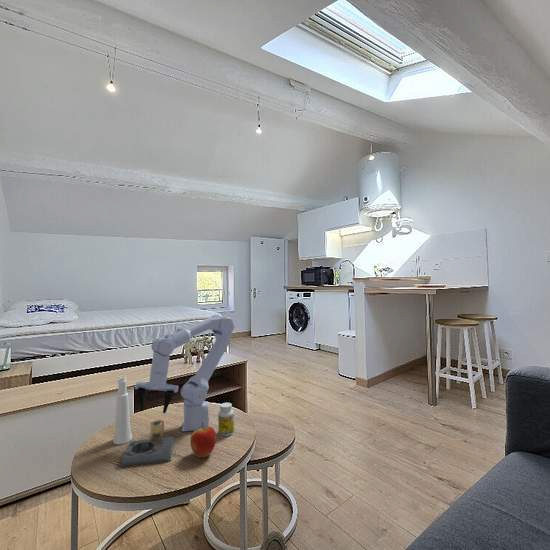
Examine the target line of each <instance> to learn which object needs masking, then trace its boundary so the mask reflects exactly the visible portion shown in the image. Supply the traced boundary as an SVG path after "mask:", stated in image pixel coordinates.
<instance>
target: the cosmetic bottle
mask: <svg viewBox="0 0 550 550" xmlns="http://www.w3.org/2000/svg"><path fill="white" fill-rule="evenodd" d="M117 381H118V382H117V395H116V404H115V423H114V424H115V426H114V433H113V438H112V439H113V440H112V442H113V444H114V445H124V444H127V443H130V441H132V439H133V434H132V430H131V420H130V416H131V415H130V403H129V392H128V385H127V384H128V381H127V377H126V376H119V378H118V380H117Z"/></svg>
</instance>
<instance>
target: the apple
mask: <svg viewBox="0 0 550 550" xmlns="http://www.w3.org/2000/svg"><path fill="white" fill-rule="evenodd" d="M202 425H203V423H202ZM189 442H190V448H191V450H192V453H193V454H194V455H195V456H197V457H199V458H206V457H207V456H209V455H210V454H211V453H212V452H213V450H214V449H215V446H216V442H217V435H216V432H215V429H214V427H211V426H208V427H206V428H201V429H197V430H193V432H192V433H191V435H190V440H189Z"/></svg>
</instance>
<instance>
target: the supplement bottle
mask: <svg viewBox="0 0 550 550" xmlns="http://www.w3.org/2000/svg"><path fill="white" fill-rule="evenodd" d="M217 416H218V417H217V418H218V421H217V422H218V434H219V435H220V436H221V435H222V437H229V435H230V436H232V435H233V434H234V433H235V411H234V410H233V404H232V403H230V402H223V403H221V404H220V405H219V411H218V414H217Z"/></svg>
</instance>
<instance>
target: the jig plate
mask: <svg viewBox="0 0 550 550" xmlns="http://www.w3.org/2000/svg"><path fill="white" fill-rule="evenodd" d="M174 445H175V437H174V436H170V437H169V436H168V437H164V438H158V439H141V440H133V441H132V440H130V441H129V442H128V445H127V446H126V449H125V451H124V454H122V455H123V456H122V457H121V467H122V468H123V467H129V466H137V465H138V466H139V465H146V464H154V463H162V462H169V461H171V460H172V454H173V450H174ZM147 450H148V451H147ZM140 451H145V452H140Z"/></svg>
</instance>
